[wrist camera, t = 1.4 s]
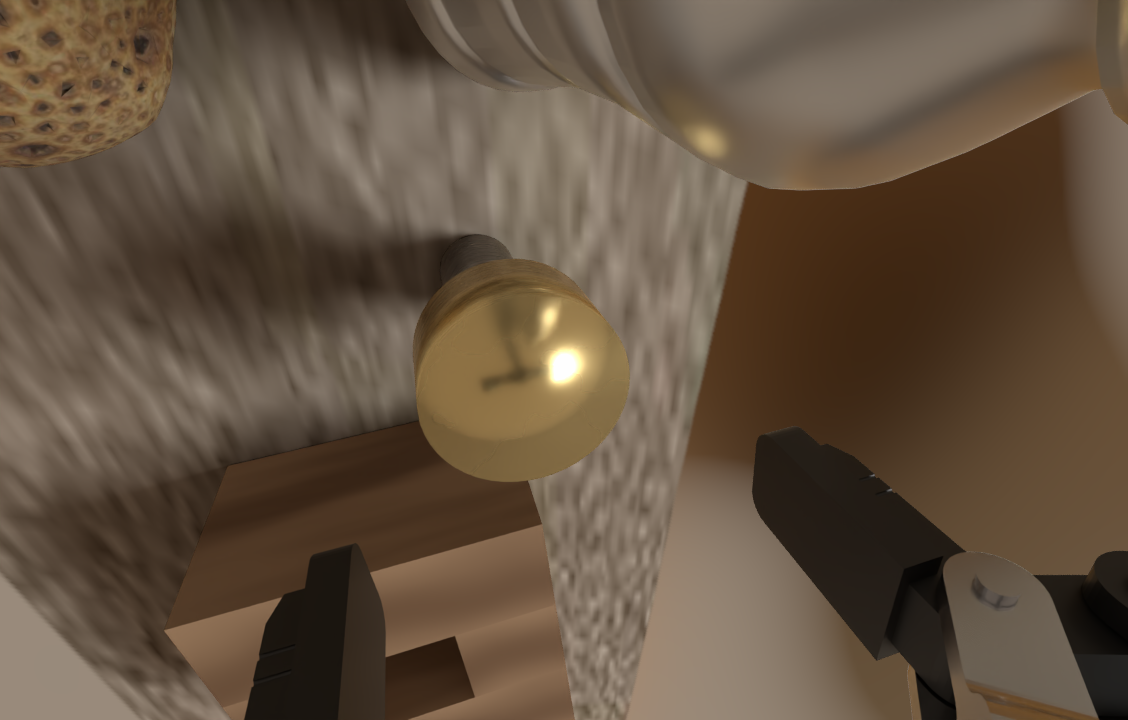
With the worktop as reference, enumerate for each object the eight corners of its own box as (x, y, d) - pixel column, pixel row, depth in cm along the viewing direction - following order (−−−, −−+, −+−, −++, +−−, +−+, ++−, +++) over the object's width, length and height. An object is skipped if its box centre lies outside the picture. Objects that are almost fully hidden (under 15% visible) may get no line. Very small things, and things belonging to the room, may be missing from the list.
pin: (390, 214, 21) (391, 323, 12) (535, 190, 22) (624, 276, 13) (424, 345, 24) (442, 503, 15) (551, 318, 25) (632, 453, 16)
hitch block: (227, 466, 24) (163, 630, 17) (502, 401, 26) (542, 524, 19) (324, 646, 30) (305, 816, 24) (536, 582, 33) (574, 721, 26)
